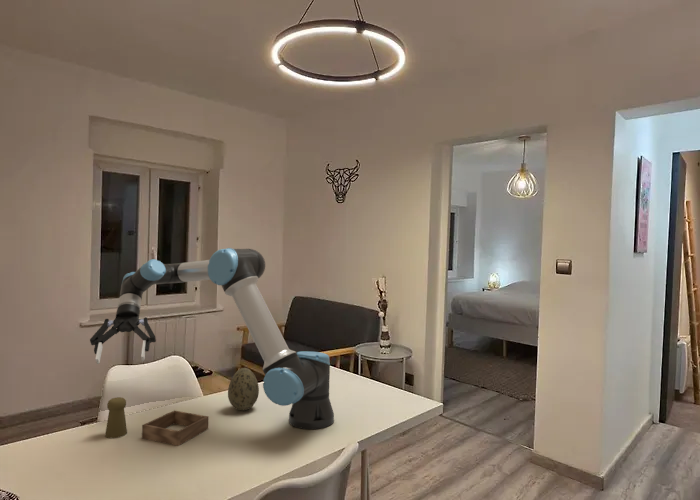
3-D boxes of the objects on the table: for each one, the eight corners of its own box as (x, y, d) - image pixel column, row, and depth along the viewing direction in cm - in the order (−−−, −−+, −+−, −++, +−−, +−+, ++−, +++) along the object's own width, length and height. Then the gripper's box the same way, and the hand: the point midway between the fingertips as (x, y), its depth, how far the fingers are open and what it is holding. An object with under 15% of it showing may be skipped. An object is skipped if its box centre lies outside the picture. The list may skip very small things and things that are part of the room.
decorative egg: (247, 416, 157) (248, 373, 157) (221, 412, 160) (222, 369, 160) (264, 406, 167) (264, 365, 167) (239, 402, 170) (239, 362, 170)
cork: (131, 432, 142) (132, 397, 142) (114, 439, 136) (114, 402, 136) (118, 428, 144) (118, 394, 144) (100, 435, 139) (101, 399, 139)
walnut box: (208, 428, 146) (208, 416, 146) (178, 445, 133) (178, 432, 133) (174, 422, 150) (174, 410, 150) (142, 438, 138) (142, 425, 138)
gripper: (166, 314, 171) (161, 363, 157) (92, 316, 164) (79, 368, 150) (165, 301, 166) (160, 351, 152) (88, 303, 159) (75, 356, 144)
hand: (120, 360), depth 151 cm, fingers open, 13 cm apart
